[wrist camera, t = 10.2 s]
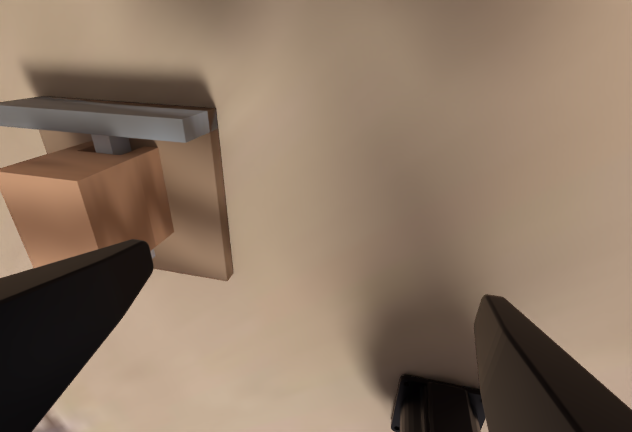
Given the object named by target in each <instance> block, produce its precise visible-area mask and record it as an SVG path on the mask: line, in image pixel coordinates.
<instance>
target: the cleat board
mask: <svg viewBox="0 0 632 432" xmlns="http://www.w3.org/2000/svg"><path fill="white" fill-rule="evenodd" d="M0 126H6V127H17V128H28V129H39V132H40V134H41V137H42V140H43V143H44V146H45V149H46V152H47V154H49V153H53V152H56V151H59V150H62V149H66V148H69V147H72V146H76V145H79V144H82V143H86V142H89V141H93V143H94V147H95V151H96V153H103V154H113V155H123V154H125V153H128V152H131V151H133V150H136V149H138V148H141V147H143V146H146V147H157V148H158V149H159V155H160V160H161V165H162V170H163V176H164V181H165V186H166V191H167V197H168V202H169V207H170V212H171V218H172V223H173V228H174V233H172V234H171V235H170V236H169V237H167V238H166V239H165V240H164V241H162V242H161V243H160V244H159V245H157V246H156V247H155V248H154V249H153V250H151V256H152V260H153V264H154V268H153V269H159V270H165V271H171V272H177V273H182V274H188V275H194V276H200V277H206V278H211V279H217V280H223V281H228V280H229V278H230V277H231V276H232V274H233V265H232V256H231V247H230V237H229V228H228V218H227V209H226V199H225V190H224V180H223V171H222V161H221V152H220V143H219V133H218V124H217V114H216V108H207V107H192V106H178V105H163V104H148V103H134V102H119V101H104V100H90V99H75V98H60V97H45V96H41V97H34V98H27V99H20V100H13V101H6V102H0Z"/></svg>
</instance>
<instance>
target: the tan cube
mask: <svg viewBox="0 0 632 432" xmlns="http://www.w3.org/2000/svg"><path fill="white" fill-rule="evenodd" d="M0 191H1V193H2V195H3V198H4V200H5V202H6V205H7V207H8V209H9V212H10V214H11V216H12V219H13V221H14V223H15V226H16V228H17V230H18V233H19V235H20V237H21V240H22V242H23V244H24V247H25V249H26V251H27V254H28V256H29V258H30V261H31V263H32V265H33V268H37V267H40V266H43V265H47V264H50V263H53V262H57V261H60V260H64V259H67V258H70V257H74V256H77V255H80V254H84V253H87V252H90V251H94V250H97V249H100V248H104V247H107V246H111V245H114V244H117V243H121V242H124V241H127V240H131V239H136V240H143V241H146V242H147V243H148V244H149V247H150V251H151V250H153V249H154V248H155V247H156V246H157V245H159V244H160V243H161V242H162V241H164V240H165V239H166V238H167V237H169V236H170V235H171V234H172V233H174V228H173V223H172V218H171V212H170V207H169V202H168V197H167V191H166V186H165V181H164V176H163V170H162V165H161V160H160V155H159V149H158V148H157V147H146V146H143V147H141V148H138V149H136V150H133V151H131V152H128V153H125V154H123V155H113V154H103V153H96V151H95V147H94V143H93V141H89V142H86V143H82V144H79V145H76V146H72V147H69V148H66V149H62V150H59V151H56V152H53V153H49V154H46V155H43V156H39V157H36V158H33V159H30V160H26V161H23V162H20V163H16V164H13V165H10V166H7V167H3V168H0Z"/></svg>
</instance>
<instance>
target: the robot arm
mask: <svg viewBox="0 0 632 432" xmlns="http://www.w3.org/2000/svg"><path fill="white" fill-rule="evenodd" d="M153 268H154V264H153V260H152V256H151V251H150V247H149V244H148V243H147V242H146V241H143V240H136V239H131V240H127V241H124V242H121V243H117V244H114V245H111V246H107V247H104V248H100V249H97V250H94V251H90V252H87V253H84V254H80V255H77V256H74V257H70V258H67V259H64V260H60V261H57V262H53V263H50V264H47V265H43V266H40V267H37V268H33V269H30V270H27V271H23V272H20V273H17V274H13V275H10V276H6V277H3V278H0V432H32V431H33V430H34V429H35V427H36V426H37V425H38V423H39V422H40V421H41V420H42V418H43V417H44V416H45V415H46V413H47V412H48V411H49V410H50V408H51V407H52V406H53V405H54V403H55V402H56V401H57V400H58V398H59V397H60V396H61V395H62V393H63V392H64V391H65V390H66V388H67V387H68V386H69V385H70V383H71V382H72V381H73V380H74V378H75V377H76V376H77V375H78V373H79V372H80V371H81V370H82V368H83V367H84V366H85V364H86V363H87V362H88V361H89V359H90V358H91V357H92V356H93V354H94V353H95V352H96V351H97V349H98V348H99V347H100V346H101V344H102V343H103V342H104V341H105V339H106V338H107V337H108V336H109V334H110V333H111V332H112V331H113V329H114V328H115V327H116V326H117V324H118V323H119V322H120V320H121V319H122V318H123V316H124V315H125V313H126V312H127V311H128V309H129V308H130V306H131V304H132V303H133V301H134V300H135V298H136V297H137V295H138V294H139V292H140V291H141V289H142V288H143V286H144V285H145V283H146V282H147V280H148V278H149V277H150V275H151V274H152V272H153ZM474 334H475V345H476V355H477V365H478V376H479V385H480V390H477V389H472V388H467V387H462V386H457V385H453V384H448V383H443V382H438V381H433V380H428V379H424V378H419V377H414V376H409V375H403V376H401V377H400V381H399V386H398V391H397V396H396V401H395V406H394V411H393V416H392V421H391V429H392V430H393V431H395V432H481V431H480V430H481V428H482V425H483V423H484V420H485V418H486V421H487V426H488V430H489V432H632V410H631V409H630V408H629V407H628V406H627V405H626V404H625V403H623V402H622V401H621V400H620V399H619V398H618V397H617V396H615V395H614V394H613V393H612V392H611V391H610V390H609V389H607V388H606V387H605V386H604V385H603V384H602V383H601V382H600V381H598V380H597V379H596V378H595V377H594V376H593V375H592V374H590V373H589V372H588V371H587V370H586V369H585V368H584V367H582V366H581V365H580V364H579V363H578V362H577V361H576V360H574V359H573V358H572V357H571V356H570V355H569V354H568V353H567V352H565V351H564V350H563V349H562V348H561V347H560V346H559V345H557V344H556V343H555V342H554V341H553V340H552V339H551V338H549V337H548V336H547V335H546V334H545V333H544V332H543V331H542V330H540V329H539V328H538V327H537V326H536V325H535V324H534V323H532V322H531V321H530V320H529V319H528V318H527V317H526V316H524V315H523V314H522V313H521V312H520V311H519V310H518V309H516V308H515V307H514V306H513V305H512V304H511V303H510V302H509V301H507V300H506V299H505V298H504V297H501V296H494V295H488V294H486V295H484V296H483V297H482V299H481V302H480V306H479V309H478V312H477V315H476V318H475V323H474Z"/></svg>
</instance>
